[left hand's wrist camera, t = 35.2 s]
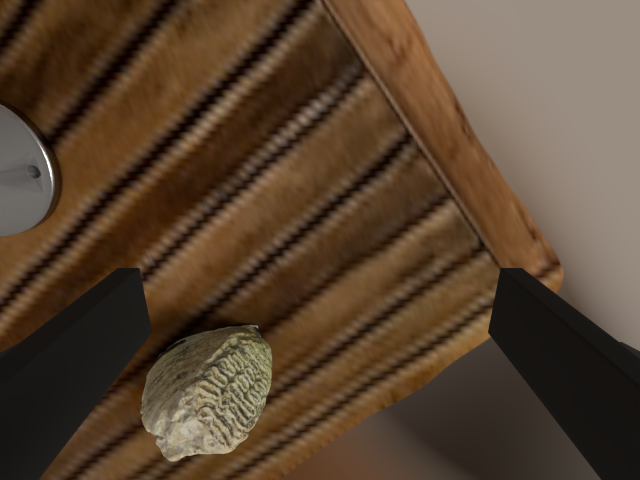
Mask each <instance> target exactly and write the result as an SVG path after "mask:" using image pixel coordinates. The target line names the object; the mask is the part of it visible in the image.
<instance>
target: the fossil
mask: <svg viewBox="0 0 640 480" xmlns="http://www.w3.org/2000/svg"><path fill="white" fill-rule="evenodd" d="M271 376H272V352H271V347H270V346H269V344H268V343H267V342H266V341H265V340H263V339H262V338H261V336H260V334H259V332H258V326H256V325H243V326H236V327H226V328H221V329H217V330H214V331H205V332H202V333H199V334H195V335H192V336H189V337H186V338H183V339H181V340H179V341H177V342H175V343H174V344H173V345H172V346H170V347H168V348H167V349H166V351H165V352H163V353H161V354H160V355H159V356H158V357H157V359H156V360H155V361H154V364H153V367H152V368H151V370H150V371H149V372H148V373H147V381H146V384H145V388H144V392H143V395H142V408H141V414H142V422H143V425H144V426H145V428H146V430H147V431H148V432H151V433H152V434H153V436H154V437H155V439H156V445H157V446H159V448H160V450H161V452H162V454H163V456H165V457H166V458H167V459H168V460H169V461H178V460H180V459H181V458H182V457H184V456H186V455H195V454H212V453H218V454H224V453H228V452H231V451H233V450H234V449H235V448H236V447H237V445H238V444H239V443H241V442H242V441H244V440H245V439H246V438H247V437H248V435H249V431H250V430H251V429H252V428H253V427H254V425H255V424H256V422H257V420H258V418H259V417H260V415H261V413H262V411H263V408H264V406H265V403H266V396H267V394H268V392H269V389H270V386H271V384H270V383H271Z"/></svg>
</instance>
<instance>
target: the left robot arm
mask: <svg viewBox="0 0 640 480" xmlns="http://www.w3.org/2000/svg"><path fill="white" fill-rule="evenodd" d="M61 190H62V177H61V171H60V166H59V163H58V160H57V157H56V155H55V152H54V150H53V148H52V146H51V145H50V143H49V141H48V140H47V138H46V137H45V135H44V134H43V133H42V132H41V130H40V129H39V128H38V127H37V126H36V125H35V124H34V123H33V122H32V121H31V120H30V119H29V118H28V117H27V116H26V115H24V114H23V113H22V112H21V111H19V110H18V109H16V108H15V107H13V106H12V105H10V104H8V103H6V102H4V101H2V100H0V236H8V235H14V234H18V233H21V232H24V231H27V230H29V229H32V228H34V227H36V226H38V225H40V224H42V223H43V222H45V221H46V220H47V219H48V218H49V217H50V216H51V215H52V213H53V212H54V211H55V209H56V207H57V205H58V203H59V200H60V196H61ZM151 333H152V330H151V325H150V320H149V315H148V310H147V305H146V300H145V295H144V290H143V285H142V280H141V275H140V270H139V268H118V269H116V270H115V271H114V272H112V273H111V274H110V275H108V276H107V277H106V278H104V279H103V280H102V281H101V282H99V283H98V284H97V285H95V286H94V287H93V288H91V289H90V290H89V291H87V292H86V293H85V294H83V295H82V296H81V297H80V298H78V299H77V300H76V301H74V302H73V303H72V304H70V305H69V306H68V307H66V308H65V309H64V310H63V311H61V312H60V313H59V314H57V315H56V316H55V317H53V318H52V319H51V320H49V321H48V322H47V323H45V324H44V325H43V326H42V327H40V328H39V329H38V330H36V331H35V332H34V333H32V334H31V335H30V336H28V337H27V338H26V339H25V340H23V341H22V342H21V343H18V344H16V345H14V346H13V347H11V348H9V349H7V350H5V351H3V352H1V353H0V480H39V479H40V477H41V476H42V475H43V473H44V472H45V471H46V469H47V468H48V467H49V466H50V464H51V463H52V462H53V460H54V459H55V458H56V456H57V455H58V454H59V453H60V451H61V450H62V449H63V447H64V446H65V445H66V443H67V442H68V441H69V440H70V438H71V437H72V436H73V434H74V433H75V432H76V430H77V429H78V428H79V427H80V425H81V424H82V423H83V421H84V420H85V419H86V417H87V416H88V415H89V414H90V412H91V411H92V410H93V408H94V407H95V406H96V404H97V403H98V402H99V401H100V399H101V398H102V397H103V395H104V394H105V393H106V391H107V390H108V389H109V388H110V386H111V385H112V384H113V382H114V381H115V380H116V378H117V377H118V376H119V375H120V373H121V372H122V371H123V369H124V368H125V367H126V366H127V364H128V363H129V362H130V360H131V359H132V358H133V356H134V355H135V354H136V353H137V351H138V350H139V349H140V347H141V346H142V345H143V343H144V342H145V341H146V340H147V338H148V337H149V336H150V334H151ZM488 333H489V334H490V336H491V337H492V338H493V340H494V341H495V342H496V343H497V345H498V346H499V347H500V349H501V350H502V351H503V353H504V354H505V355H506V356H507V358H508V359H509V360H510V362H511V363H512V364H513V366H514V367H515V368H516V369H517V371H518V372H519V373H520V375H521V376H522V377H523V379H524V380H525V381H526V382H527V384H528V385H529V386H530V387H531V389H532V390H533V391H534V393H535V394H536V395H537V397H538V398H539V399H540V401H541V402H542V403H543V404H544V406H545V407H546V408H547V410H548V411H549V412H550V414H551V415H552V416H553V417H554V419H555V420H556V421H557V423H558V424H559V425H560V426H561V428H562V429H563V430H564V432H565V433H566V434H567V436H568V437H569V438H570V440H571V441H572V442H573V443H574V445H575V446H576V447H577V449H578V450H579V451H580V452H581V454H582V455H583V456H584V458H585V459H586V460H587V462H588V463H589V464H590V466H591V467H592V468H593V469H594V471H595V472H596V473H597V475H598V476H599V477H600V478H601V480H640V351H638V350H636V349H634V348H632V347H630V346H628V345H626V344H624V343H623V342H618V341H617V340H615V339H614V338H613V337H612V336H610V335H609V334H608V333H606V332H605V331H604V330H602V329H601V328H600V327H598V326H597V325H596V324H595V323H593V322H592V321H591V320H589V319H588V318H587V317H585V316H584V315H583V314H581V313H580V312H579V311H577V310H576V309H575V308H574V307H572V306H571V305H570V304H568V303H567V302H566V301H564V300H563V299H562V298H560V297H559V296H558V295H557V294H555V293H554V292H553V291H551V290H550V289H549V288H547V287H546V286H545V285H543V284H542V283H541V282H539V281H538V280H537V279H536V278H534V277H533V276H532V275H530V274H529V273H528V272H526V271H525V270H524V269H522V268H501V270H500V275H499V280H498V285H497V290H496V295H495V300H494V305H493V310H492V315H491V320H490V325H489V330H488Z"/></svg>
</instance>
